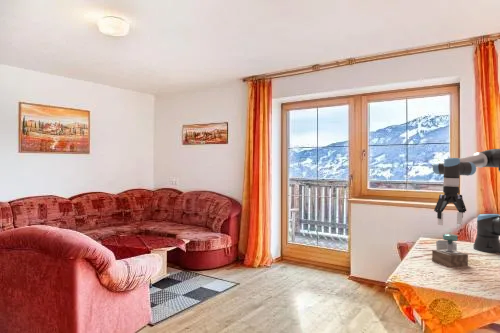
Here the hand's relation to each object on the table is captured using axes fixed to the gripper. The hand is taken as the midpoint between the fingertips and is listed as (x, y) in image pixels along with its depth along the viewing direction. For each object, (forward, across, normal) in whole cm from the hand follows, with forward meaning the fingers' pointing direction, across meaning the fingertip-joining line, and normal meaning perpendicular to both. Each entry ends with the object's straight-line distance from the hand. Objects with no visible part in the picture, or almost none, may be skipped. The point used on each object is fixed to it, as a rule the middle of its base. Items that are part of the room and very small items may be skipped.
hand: (450, 224), depth 187 cm
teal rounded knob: (+21, 0, 0) cm, 21 cm away
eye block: (+21, 0, 0) cm, 21 cm away
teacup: (+21, -14, -15) cm, 29 cm away
